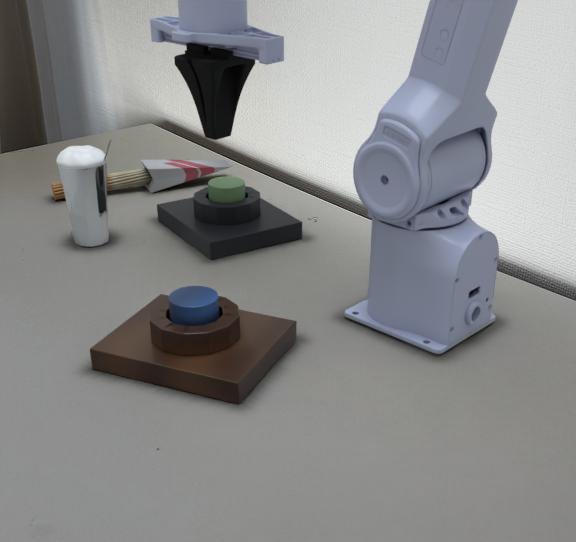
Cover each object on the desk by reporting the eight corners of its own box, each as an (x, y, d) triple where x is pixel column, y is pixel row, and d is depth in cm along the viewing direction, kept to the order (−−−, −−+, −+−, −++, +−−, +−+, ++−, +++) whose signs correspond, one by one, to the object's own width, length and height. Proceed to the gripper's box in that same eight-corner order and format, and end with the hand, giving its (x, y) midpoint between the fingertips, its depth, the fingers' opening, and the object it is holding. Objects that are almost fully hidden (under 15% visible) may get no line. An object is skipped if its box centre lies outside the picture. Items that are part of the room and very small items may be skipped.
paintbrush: (232, 155, 98) (53, 184, 92) (234, 179, 99) (58, 209, 93) (222, 146, 101) (48, 173, 95) (224, 169, 102) (52, 197, 97)
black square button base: (302, 238, 85) (302, 203, 83) (210, 259, 80) (209, 223, 79) (243, 202, 94) (242, 170, 92) (157, 220, 89) (155, 186, 87)
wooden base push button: (296, 340, 67) (296, 299, 65) (239, 404, 59) (237, 359, 58) (162, 312, 71) (159, 273, 69) (91, 369, 64) (85, 326, 62)
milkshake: (113, 252, 82) (101, 146, 77) (60, 247, 83) (44, 143, 78) (130, 234, 86) (119, 132, 81) (79, 230, 87) (65, 129, 82)
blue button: (227, 311, 65) (227, 290, 64) (204, 332, 62) (203, 310, 61) (185, 303, 66) (184, 282, 65) (160, 323, 63) (158, 301, 62)
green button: (252, 201, 85) (251, 183, 84) (219, 208, 83) (218, 190, 82) (234, 191, 88) (233, 173, 87) (202, 197, 86) (201, 180, 85)
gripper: (116, -34, 72) (132, 130, 80) (237, -19, 64) (242, 163, 71) (181, -41, 77) (190, 115, 84) (302, -27, 68) (300, 145, 75)
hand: (218, 136), depth 78 cm, fingers closed
